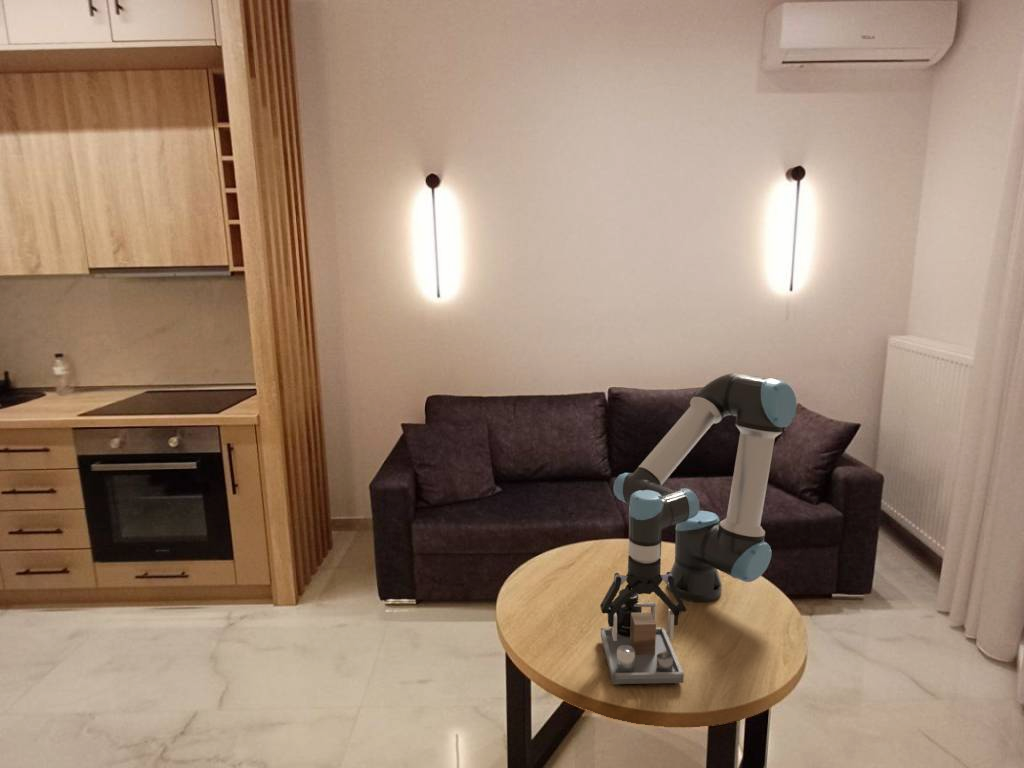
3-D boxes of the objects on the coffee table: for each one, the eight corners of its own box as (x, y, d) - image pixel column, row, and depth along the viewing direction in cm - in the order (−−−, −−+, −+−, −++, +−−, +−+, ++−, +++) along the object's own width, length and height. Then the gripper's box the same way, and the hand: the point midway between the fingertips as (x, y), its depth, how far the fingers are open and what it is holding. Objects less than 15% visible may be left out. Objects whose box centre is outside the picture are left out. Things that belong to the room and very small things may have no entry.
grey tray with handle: (663, 638, 157) (664, 601, 154) (683, 687, 139) (684, 645, 137) (600, 640, 157) (601, 602, 154) (612, 688, 139) (613, 647, 137)
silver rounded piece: (632, 664, 143) (632, 644, 142) (635, 675, 140) (636, 655, 139) (615, 664, 143) (615, 645, 142) (618, 675, 140) (618, 656, 139)
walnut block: (655, 654, 147) (655, 624, 145) (634, 654, 147) (634, 624, 145) (650, 641, 152) (651, 612, 150) (630, 641, 152) (630, 612, 150)
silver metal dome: (670, 663, 143) (670, 652, 143) (674, 674, 140) (674, 662, 139) (654, 664, 143) (655, 652, 143) (658, 674, 140) (659, 662, 139)
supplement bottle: (624, 646, 153) (625, 603, 151) (608, 632, 159) (608, 590, 156) (646, 638, 156) (647, 595, 154) (629, 625, 162) (630, 583, 160)
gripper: (692, 547, 148) (689, 626, 152) (589, 549, 148) (588, 628, 152) (702, 562, 141) (698, 645, 145) (593, 564, 141) (592, 647, 145)
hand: (642, 637), depth 149 cm, fingers open, 13 cm apart
